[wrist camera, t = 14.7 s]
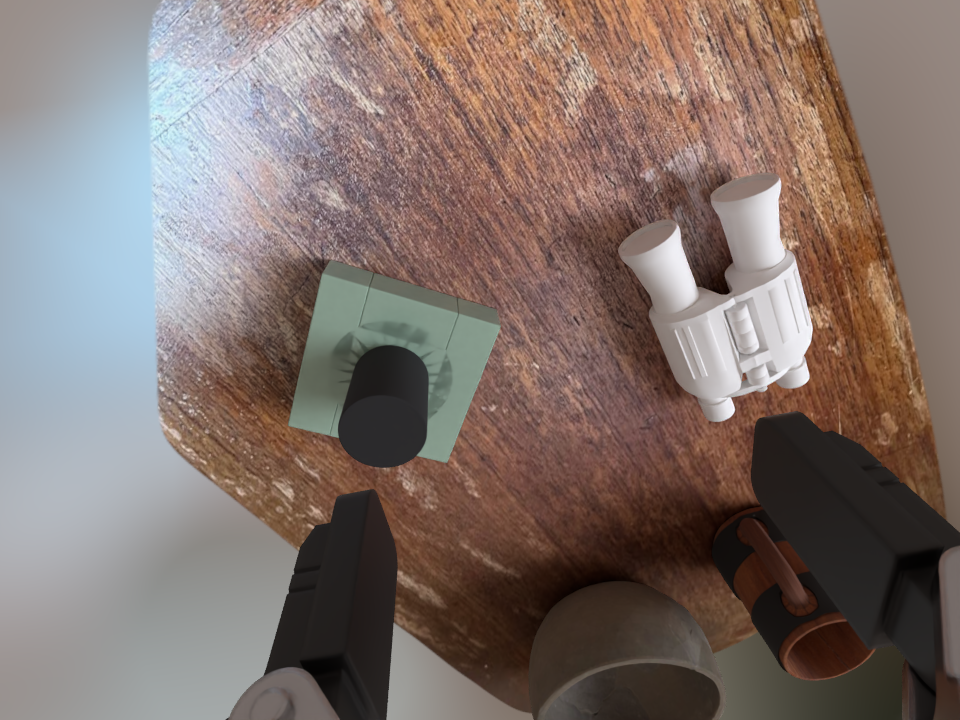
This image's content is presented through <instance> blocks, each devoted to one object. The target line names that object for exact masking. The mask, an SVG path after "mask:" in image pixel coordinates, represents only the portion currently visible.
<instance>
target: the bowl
mask: <svg viewBox="0 0 960 720" xmlns="http://www.w3.org/2000/svg"><path fill="white" fill-rule="evenodd" d="M529 696H530V703H531V709H532V715H533V719H534V720H719V718H720V717H721V715H722V714H723V712H724V710H725V706H726V691H725V687H724V683H723V680H722V676H721V673H720V670H719V667H718V664H717V662H716V660H715V657H714V655H713V653H712V650H711V648H710V645H709V643H708V641H707V639H706V637H705V635H704V633H703V631H702V629H701V628H700V626H699V625H698V624H697V623H696V621H695V620H694V619H693V617H692V616H691V614H690V613H689V611H688V610H687V609H686V608H684V607H683V606H682V605H680V604H678V603H677V602H676V601H674V600H673V599H672V598H670V597H668V596H667V595H665V594H663V593H661V592H659V591H657V590H656V589H654V588H652V587H649V586H647V585H644V584H640V583H635V582H629V581H610V582H603V583H599V584H594V585H590V586H587V587H584V588H582V589H579V590H577V591H575V592H573V593H572V594H570V595H568V596H566V597H565V598H563V599H562V600H560V601H559V602H558V603H557V604H556V605H555V606H553V607H552V609H551V610H550V611H549V612H548V614H547V615H546V617H545V618H544V620H543V622H542V623H541V625H540V627H539V629H538V631H537V633H536V636H535V639H534V642H533V646H532V650H531V656H530V663H529Z"/></svg>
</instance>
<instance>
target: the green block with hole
mask: <svg viewBox="0 0 960 720" xmlns="http://www.w3.org/2000/svg"><path fill="white" fill-rule="evenodd" d="M500 327H501V325H500V321H499V317H498V313H497V310H496V309H494V308H490V307H487V306H484V305H480V304H477V303H474V302H470V301H467V300H464V299H460V298H456V297H453V296H450V295H447V294H443V293H440V292H437V291H433V290H430V289H427V288H423V287H420V286H417V285H413V284H410V283H407V282H403V281H400V280H397V279H393V278H390V277H387V276H383V275H380V274H377V273H373V272H370V271H367V270H363V269H360V268H357V267H353V266H350V265H347V264H343V263H340V262H337V261H333V260H330V261H329V263H328V264H327V266H326V268H325V269H324V271H323V273H322V275H321V279H320V284H319V288H318V293H317V297H316V302H315V306H314V310H313V315H312V319H311V324H310V328H309V333H308V337H307V342H306V346H305V350H304V355H303V359H302V364H301V368H300V373H299V377H298V382H297V386H296V391H295V395H294V399H293V404H292V408H291V413H290V417H289V422H288V426H291V427H295V428H299V429H304V430H308V431H312V432H317V433H321V434H325V435H330V436H333V437H337V438H339V436H338V424H339V420H340V416H341V413H342V409H343V406H344V402H345V399H346V395H347V392H348V388H349V385H350V381H351V378H352V374H353V371H354V368H355V365H356V363H357V361H358V360H359V359H360V357H361V356H362V355H363V354H365V353H366V352H368V351H369V350H371V349H373V348H376V347H379V346H385V345H394V346H400V347H403V348H406V349H408V350H410V351H412V352H414V353H415V354H416V355H417V356H419V357H420V359H421V360H422V361H423V362H424V364H425V366H426V368H427V371H428V375H429V391H428V424H427V439H426V442H425V444H424V447H423V448H422V450H421V451H420V452H419V453H418V455H417V456H419V457H424V458H428V459H432V460H437V461H441V462H445V463H447V462H448V459H449V457H450V454H451V452H452V449H453V446H454V444H455V441H456V439H457V436H458V434H459V431H460V429H461V426H462V424H463V421H464V419H465V416H466V414H467V411H468V408H469V406H470V403H471V401H472V398H473V396H474V393H475V391H476V388H477V386H478V383H479V381H480V378H481V375H482V373H483V370H484V368H485V365H486V363H487V360H488V358H489V355H490V353H491V350H492V348H493V345H494V343H495V340H496V337H497V335H498V332H499V330H500Z"/></svg>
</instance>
